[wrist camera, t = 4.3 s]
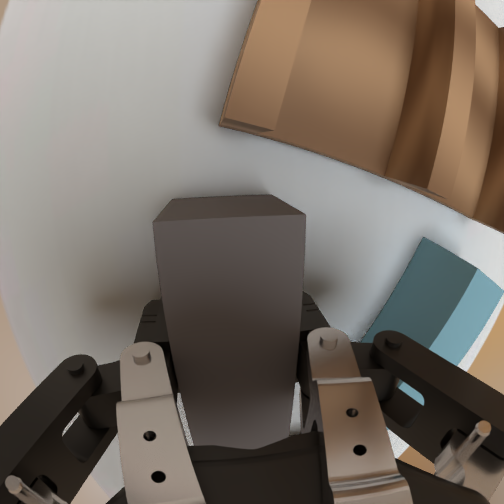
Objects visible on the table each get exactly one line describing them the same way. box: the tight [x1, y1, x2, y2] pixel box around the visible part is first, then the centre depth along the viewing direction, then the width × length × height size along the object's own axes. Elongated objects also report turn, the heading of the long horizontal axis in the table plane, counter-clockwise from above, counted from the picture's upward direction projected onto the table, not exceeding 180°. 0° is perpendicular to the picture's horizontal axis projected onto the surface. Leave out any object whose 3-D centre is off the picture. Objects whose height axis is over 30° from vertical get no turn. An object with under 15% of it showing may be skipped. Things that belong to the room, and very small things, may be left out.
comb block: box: [219, 0, 504, 234], centre depth 7 cm, size 12×14×4 cm
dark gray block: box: [153, 195, 306, 449], centre depth 10 cm, size 9×4×4 cm, turn 0°
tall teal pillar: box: [360, 237, 504, 430], centre depth 12 cm, size 9×4×4 cm, turn 155°
